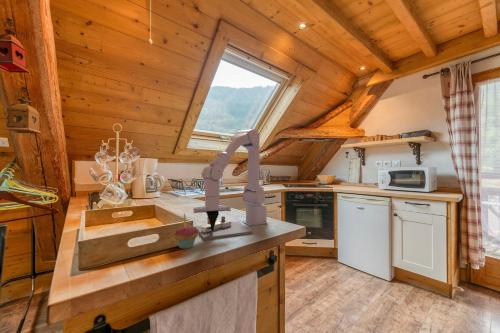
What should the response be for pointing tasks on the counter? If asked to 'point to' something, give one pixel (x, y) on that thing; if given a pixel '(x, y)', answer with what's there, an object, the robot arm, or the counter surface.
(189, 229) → the cupcake
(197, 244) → the counter surface
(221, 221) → the pintle
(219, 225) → the link
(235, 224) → the board
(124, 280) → the counter surface
